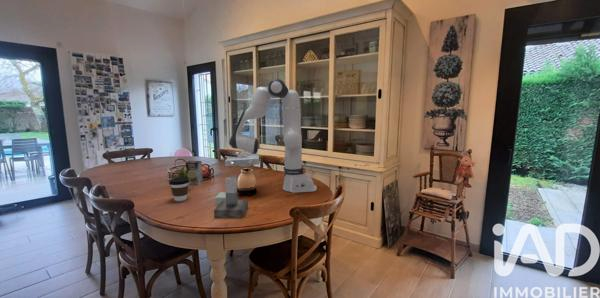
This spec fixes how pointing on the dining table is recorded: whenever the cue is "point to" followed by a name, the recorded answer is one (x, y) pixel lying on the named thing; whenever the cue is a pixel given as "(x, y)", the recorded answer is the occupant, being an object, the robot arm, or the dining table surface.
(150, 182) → the dining table surface
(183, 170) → the house plant
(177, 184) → the coffee cup
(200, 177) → the coffee box
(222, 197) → the stand
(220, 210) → the stand
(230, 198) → the housing
